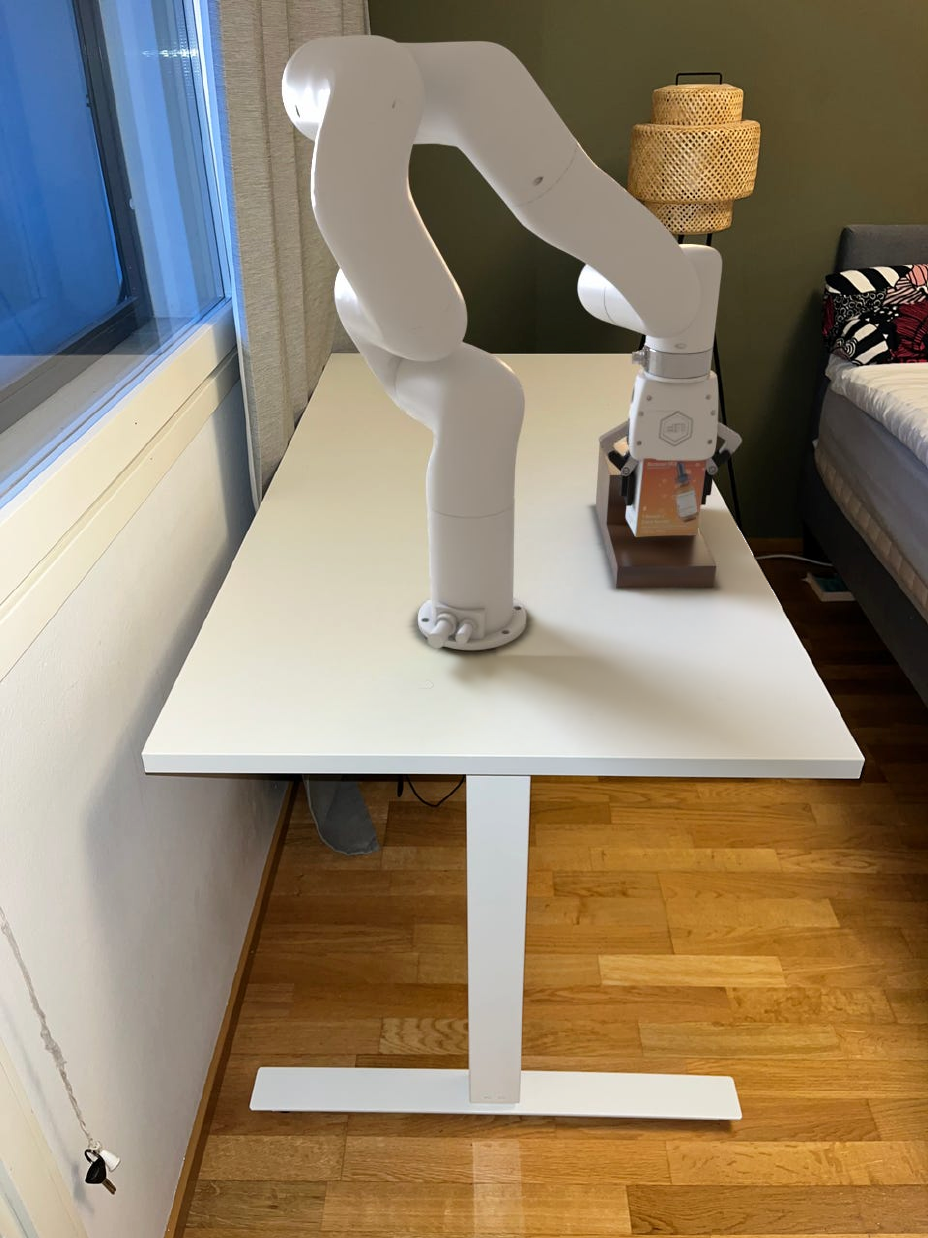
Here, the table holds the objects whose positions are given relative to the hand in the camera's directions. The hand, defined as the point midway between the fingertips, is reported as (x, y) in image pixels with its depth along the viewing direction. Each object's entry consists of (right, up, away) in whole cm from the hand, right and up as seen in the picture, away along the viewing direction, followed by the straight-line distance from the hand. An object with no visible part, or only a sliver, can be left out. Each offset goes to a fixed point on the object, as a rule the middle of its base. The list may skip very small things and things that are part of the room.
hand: (664, 500), depth 117 cm
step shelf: (0, -5, +10) cm, 11 cm away
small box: (0, -3, +2) cm, 4 cm away
